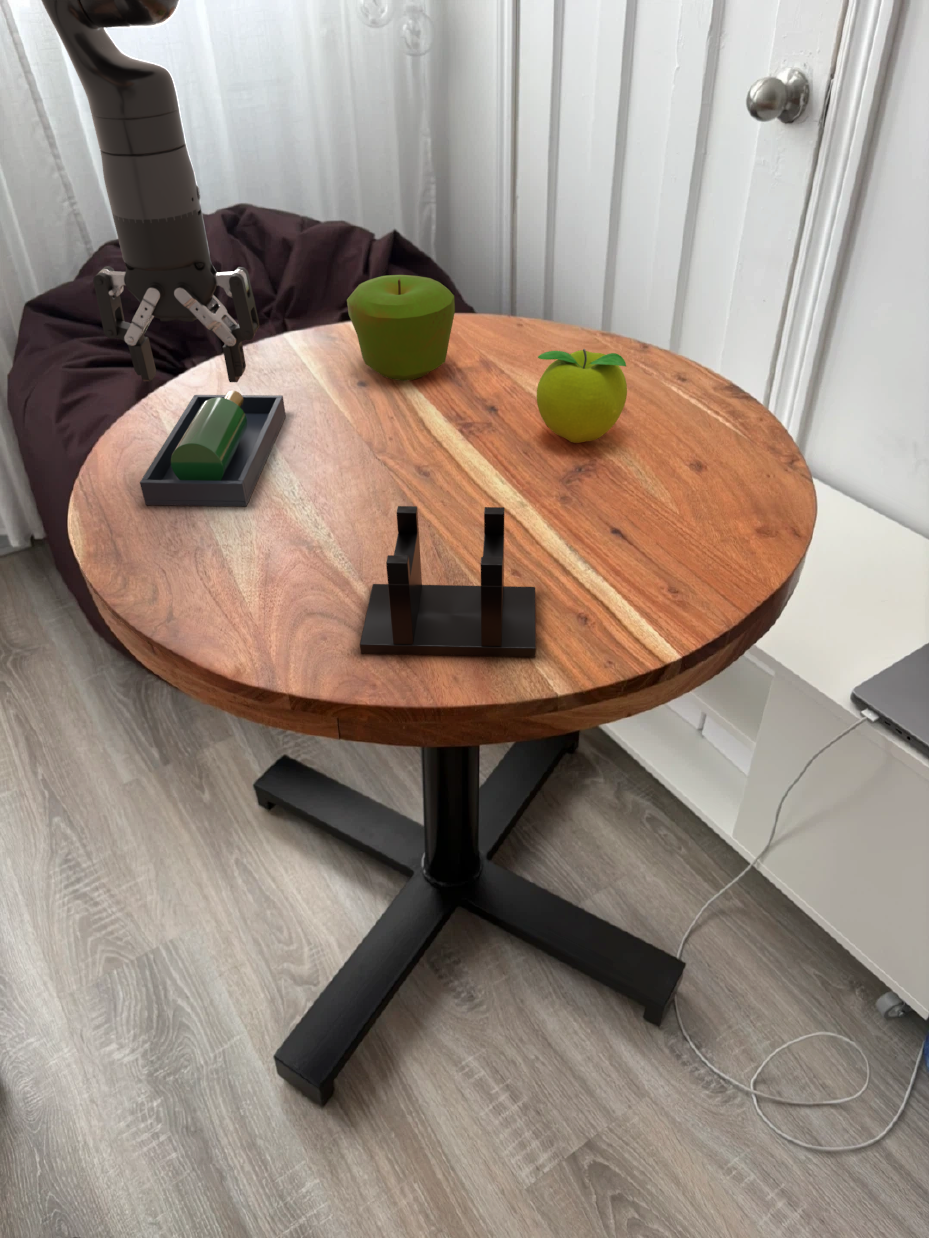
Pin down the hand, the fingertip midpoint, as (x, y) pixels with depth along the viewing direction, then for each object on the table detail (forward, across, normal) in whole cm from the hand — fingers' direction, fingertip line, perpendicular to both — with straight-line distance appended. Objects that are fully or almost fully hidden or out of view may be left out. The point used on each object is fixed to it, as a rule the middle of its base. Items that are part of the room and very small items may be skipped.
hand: (192, 378), depth 90 cm
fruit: (+10, +39, +8) cm, 41 cm away
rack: (+10, +27, -24) cm, 38 cm away
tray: (+10, 0, +3) cm, 11 cm away
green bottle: (+10, 0, +3) cm, 10 cm away
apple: (+10, +18, +25) cm, 32 cm away
